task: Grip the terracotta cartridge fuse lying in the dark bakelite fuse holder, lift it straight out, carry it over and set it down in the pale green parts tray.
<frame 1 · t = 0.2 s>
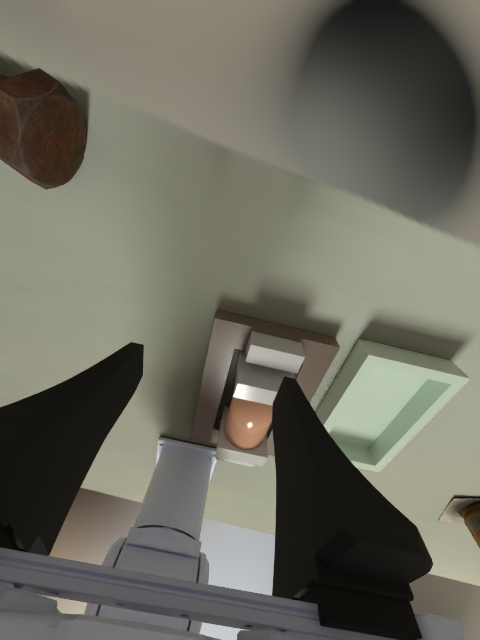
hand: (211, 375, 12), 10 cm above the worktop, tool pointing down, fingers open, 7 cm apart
fuse: (253, 388, 26), resting in fuse holder
condiment: (475, 507, 35), on the worktop
parts tray: (365, 403, 26), on the worktop
fuse holder: (253, 389, 26), on the worktop
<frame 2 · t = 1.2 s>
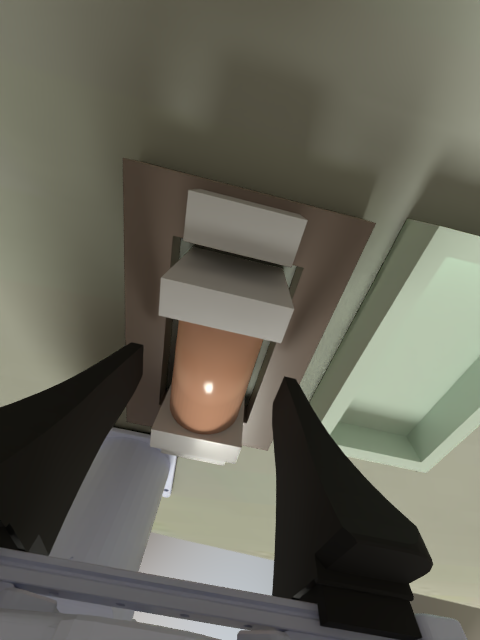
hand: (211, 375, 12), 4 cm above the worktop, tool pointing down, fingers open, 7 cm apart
fuse: (221, 334, 16), resting in fuse holder
parts tray: (408, 358, 16), on the worktop
fuse holder: (221, 335, 16), on the worktop
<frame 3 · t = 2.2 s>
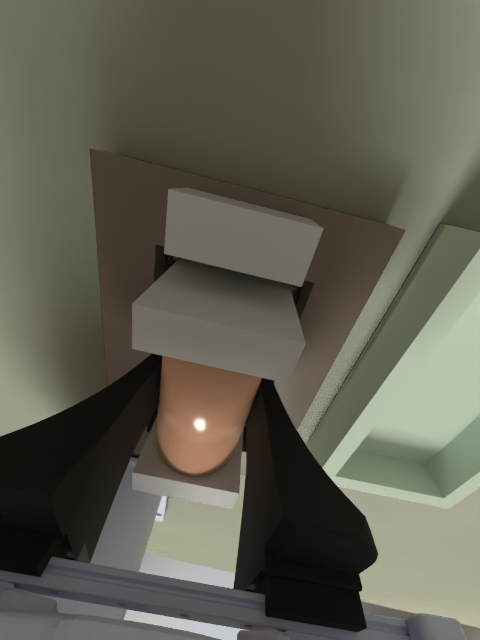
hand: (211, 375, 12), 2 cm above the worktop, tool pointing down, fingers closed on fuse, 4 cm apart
fuse: (216, 355, 14), resting in fuse holder, touching gripper
parts tray: (431, 382, 14), on the worktop
fuse holder: (216, 355, 14), on the worktop
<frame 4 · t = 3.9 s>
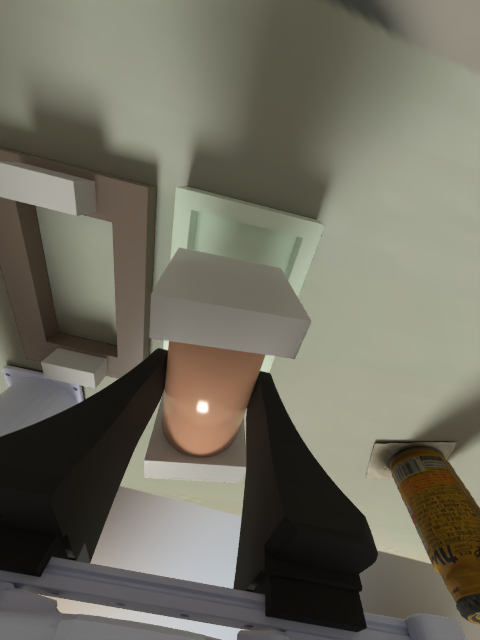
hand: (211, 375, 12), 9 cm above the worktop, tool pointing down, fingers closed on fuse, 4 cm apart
fuse: (213, 343, 14), point 7 cm above the worktop, tilted 7°, touching gripper
condiment: (406, 458, 29), on the worktop
parts tray: (230, 301, 20), on the worktop
fuse holder: (86, 283, 20), on the worktop
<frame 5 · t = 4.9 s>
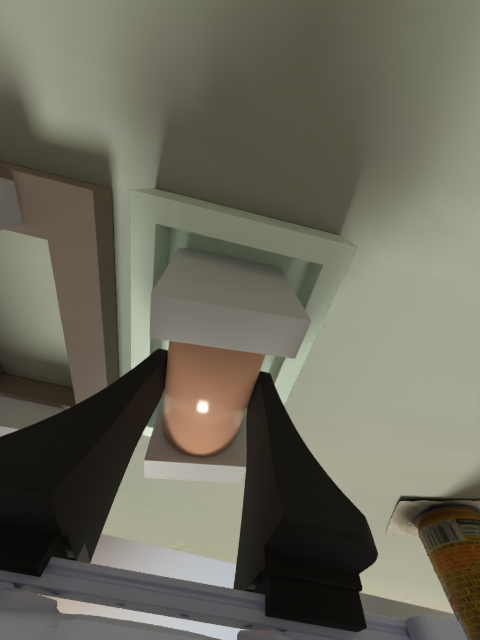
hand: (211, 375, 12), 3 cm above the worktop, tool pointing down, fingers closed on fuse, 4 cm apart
fuse: (213, 343, 14), point 1 cm above the worktop, tilted 7°, touching gripper
condiment: (435, 514, 24), on the worktop
parts tray: (220, 339, 15), on the worktop
fuse holder: (30, 316, 15), on the worktop
when the fingers open (3 cm above the worktop, at t = 5.9 s): fuse stays where it is, resting on parts tray.
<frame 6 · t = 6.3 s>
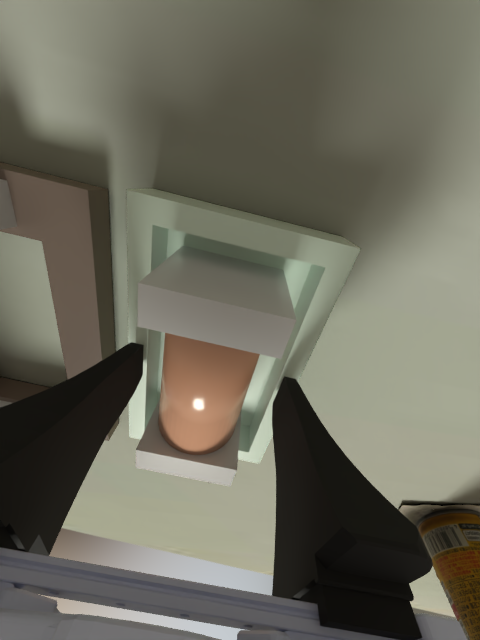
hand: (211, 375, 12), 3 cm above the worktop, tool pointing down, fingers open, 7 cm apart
fuse: (215, 342, 14), resting on parts tray
condiment: (438, 518, 24), on the worktop
parts tray: (219, 342, 15), on the worktop
fuse holder: (26, 318, 15), on the worktop
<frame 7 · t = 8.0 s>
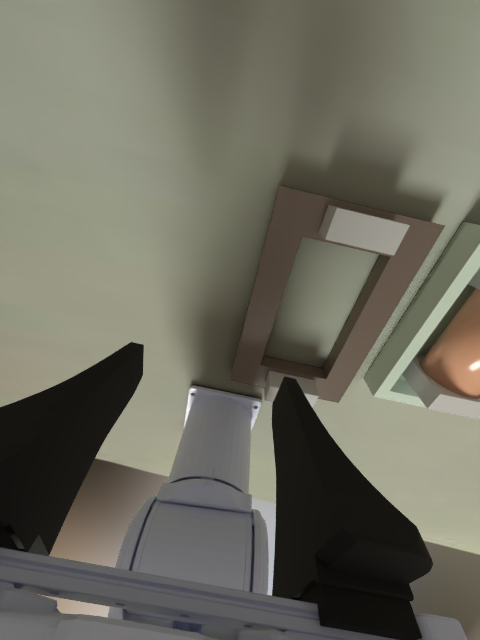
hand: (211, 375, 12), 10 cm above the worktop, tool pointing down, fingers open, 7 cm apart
fuse: (456, 324, 20), resting on parts tray
parts tray: (454, 325, 21), on the worktop
fuse holder: (312, 310, 21), on the worktop
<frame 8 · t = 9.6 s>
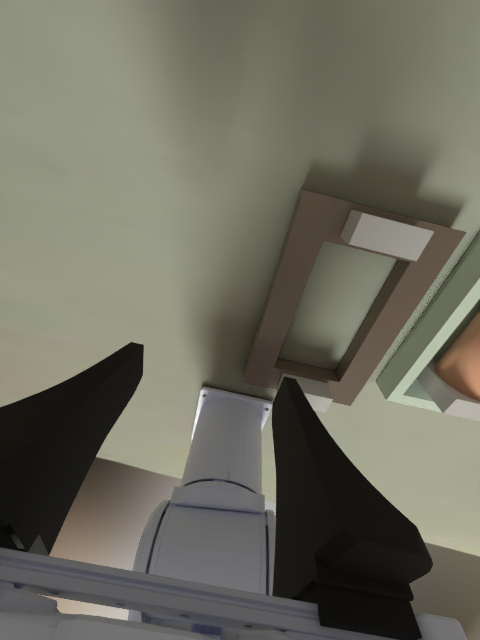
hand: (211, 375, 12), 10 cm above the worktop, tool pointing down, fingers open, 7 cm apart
fuse: (471, 330, 20), resting on parts tray
parts tray: (468, 330, 21), on the worktop
fuse holder: (328, 313, 21), on the worktop
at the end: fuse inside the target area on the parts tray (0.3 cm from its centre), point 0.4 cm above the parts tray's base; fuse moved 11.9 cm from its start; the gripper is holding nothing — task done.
